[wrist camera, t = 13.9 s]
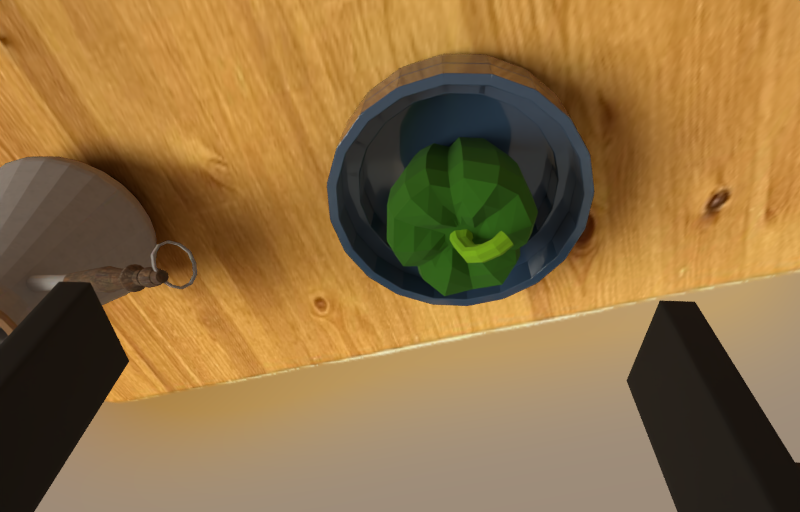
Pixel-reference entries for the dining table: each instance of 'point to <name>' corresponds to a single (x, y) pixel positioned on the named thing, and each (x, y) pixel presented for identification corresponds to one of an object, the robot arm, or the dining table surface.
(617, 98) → the dining table surface
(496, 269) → the bell pepper
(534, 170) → the bowl
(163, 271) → the coffee pot
